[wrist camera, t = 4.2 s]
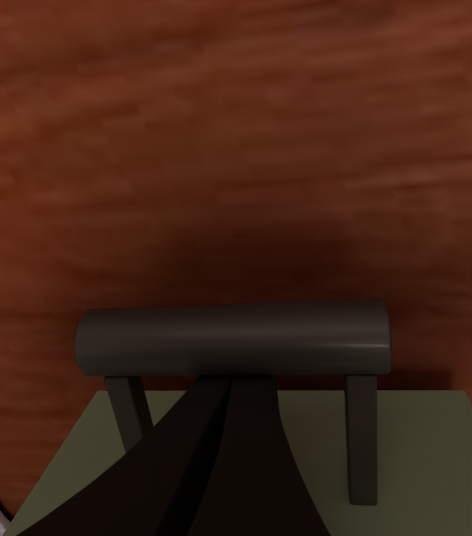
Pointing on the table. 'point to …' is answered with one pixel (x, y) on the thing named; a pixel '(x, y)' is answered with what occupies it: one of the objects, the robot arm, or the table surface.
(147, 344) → the drawer
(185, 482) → the robot arm
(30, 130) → the table surface
